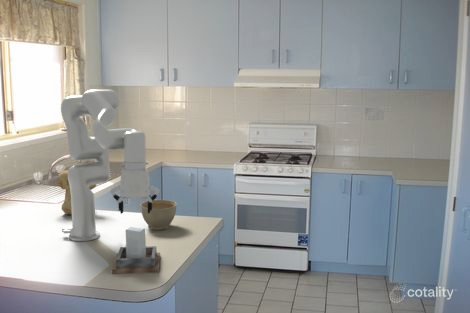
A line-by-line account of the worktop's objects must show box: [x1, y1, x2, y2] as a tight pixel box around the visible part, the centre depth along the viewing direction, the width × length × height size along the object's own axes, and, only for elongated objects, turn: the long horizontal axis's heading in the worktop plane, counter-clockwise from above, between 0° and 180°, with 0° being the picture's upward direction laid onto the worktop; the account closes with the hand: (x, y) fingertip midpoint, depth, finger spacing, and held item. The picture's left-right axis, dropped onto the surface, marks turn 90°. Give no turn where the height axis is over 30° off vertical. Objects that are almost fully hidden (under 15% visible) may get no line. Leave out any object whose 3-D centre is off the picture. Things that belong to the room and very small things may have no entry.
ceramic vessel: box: [57, 169, 98, 216], centre depth 254 cm, size 17×20×25 cm
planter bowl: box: [140, 199, 178, 231], centre depth 231 cm, size 16×16×11 cm
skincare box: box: [125, 226, 147, 258], centre depth 185 cm, size 6×4×12 cm
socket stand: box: [111, 245, 161, 275], centre depth 186 cm, size 16×16×4 cm
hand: (135, 212), depth 184 cm, fingers open, 9 cm apart
